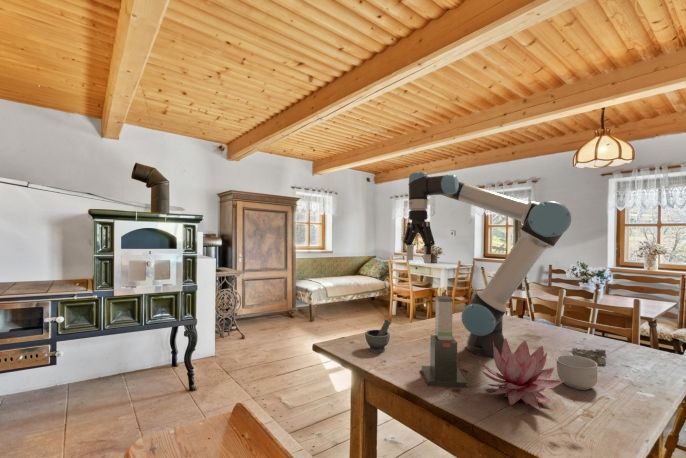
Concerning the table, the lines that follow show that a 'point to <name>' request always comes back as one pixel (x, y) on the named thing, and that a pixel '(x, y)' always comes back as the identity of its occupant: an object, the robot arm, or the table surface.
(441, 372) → the sleeve
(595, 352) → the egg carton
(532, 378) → the decorative flower
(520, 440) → the table surface
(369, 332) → the mortar and pestle
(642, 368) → the table surface
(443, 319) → the steel post
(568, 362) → the teacup
